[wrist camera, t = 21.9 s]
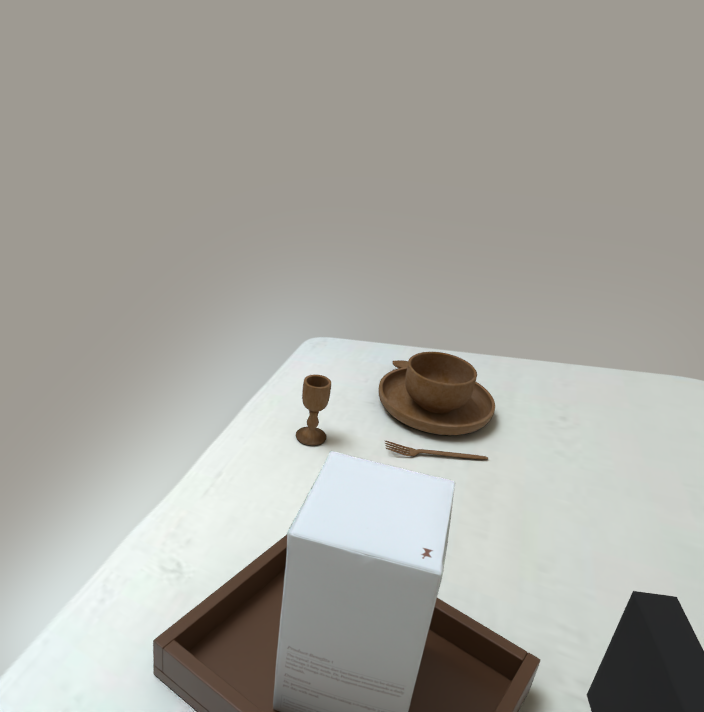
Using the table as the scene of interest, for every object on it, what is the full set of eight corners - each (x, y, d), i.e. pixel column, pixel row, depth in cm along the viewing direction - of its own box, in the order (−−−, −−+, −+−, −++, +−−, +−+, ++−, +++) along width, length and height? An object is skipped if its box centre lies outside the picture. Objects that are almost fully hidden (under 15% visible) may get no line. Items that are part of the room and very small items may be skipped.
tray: (153, 674, 38) (152, 640, 37) (302, 548, 48) (306, 518, 47) (417, 900, 30) (428, 867, 28) (529, 690, 40) (541, 659, 39)
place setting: (512, 465, 61) (528, 411, 58) (294, 448, 59) (301, 391, 56) (472, 373, 77) (483, 327, 74) (299, 357, 75) (304, 309, 72)
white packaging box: (420, 642, 41) (462, 479, 36) (398, 754, 35) (444, 576, 29) (307, 608, 42) (330, 445, 37) (266, 710, 36) (285, 531, 30)
